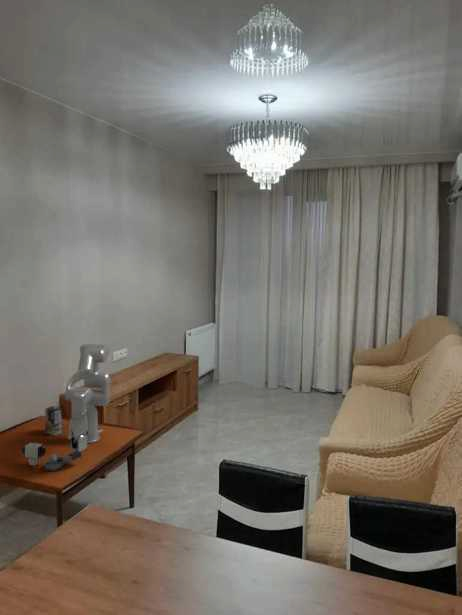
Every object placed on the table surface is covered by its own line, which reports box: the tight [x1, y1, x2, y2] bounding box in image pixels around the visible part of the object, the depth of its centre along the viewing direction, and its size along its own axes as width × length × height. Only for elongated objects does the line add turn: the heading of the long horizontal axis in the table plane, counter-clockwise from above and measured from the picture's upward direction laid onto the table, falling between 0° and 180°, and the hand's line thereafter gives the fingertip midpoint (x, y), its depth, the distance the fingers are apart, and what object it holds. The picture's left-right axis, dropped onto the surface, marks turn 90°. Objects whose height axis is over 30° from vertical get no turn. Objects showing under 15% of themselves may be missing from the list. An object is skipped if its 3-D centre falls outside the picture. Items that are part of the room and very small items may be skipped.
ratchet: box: [44, 450, 82, 473], centre depth 257 cm, size 22×9×7 cm, turn 152°
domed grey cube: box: [70, 434, 88, 452], centre depth 256 cm, size 6×6×8 cm
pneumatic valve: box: [21, 442, 47, 466], centre depth 254 cm, size 6×12×12 cm, turn 78°
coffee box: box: [45, 405, 63, 436], centre depth 297 cm, size 9×6×16 cm
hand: (78, 445), depth 256 cm, fingers closed on domed grey cube, 6 cm apart
